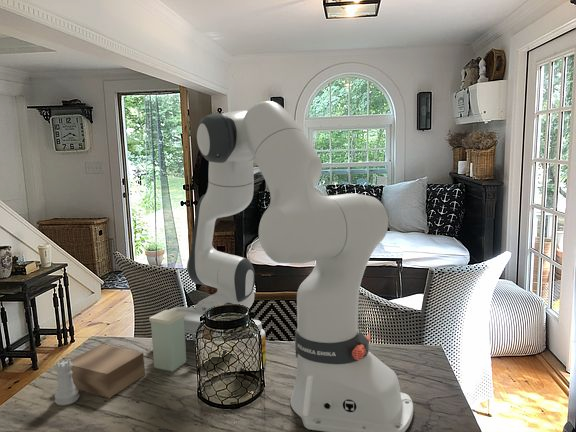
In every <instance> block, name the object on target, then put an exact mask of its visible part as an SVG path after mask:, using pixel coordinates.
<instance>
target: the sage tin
mask: <svg viewBox="0 0 576 432" xmlns="http://www.w3.org/2000/svg"><path fill="white" fill-rule="evenodd" d="M184 316H185V313H184V312H178V311H171V310H169V309H163V310H162V311H160V312H157V313H156V314H154V315H151V316H150V317H149V318H148V319H149V322H150V326H151V327H150V329H151V341H152V353H153V355H152V357H153V367H154V368H156V369H160V370H163V371H169V372H174V371H176V369H178V368H180V367H181V366H182V365H184V364H185V363H186V362H187V351H186V350H187V349H186V347H187V346H186V333H185V330H184Z"/></svg>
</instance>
